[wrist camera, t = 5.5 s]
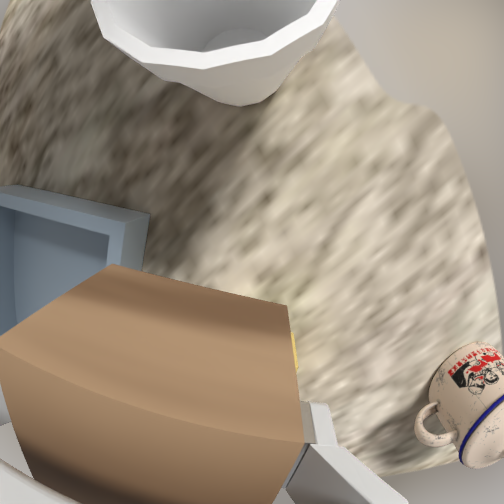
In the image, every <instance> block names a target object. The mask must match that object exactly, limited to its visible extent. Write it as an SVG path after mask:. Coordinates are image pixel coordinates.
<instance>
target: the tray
mask: <svg viewBox="0 0 504 504" xmlns="http://www.w3.org/2000/svg"><path fill="white" fill-rule="evenodd" d="M149 220H150V214H147V213H143V212H139V211H134V210H130V209H126V208H121V207H117V206H112V205H108V204H104V203H99V202H95V201H90V200H86V199H81V198H77V197H72V196H68V195H63V194H59V193H54V192H50V191H45V190H41V189H36V188H32V187H27V186H22V185H18V184H17V185H8V186H0V336H2V335H3V334H4V333H6V332H7V331H9V330H10V329H12V328H13V327H14V326H16V325H17V324H19V323H20V322H22V321H23V320H25V319H26V318H28V317H29V316H31V315H32V314H34V313H35V312H37V311H38V310H40V309H41V308H43V307H44V306H46V305H47V304H49V303H50V302H52V301H53V300H55V299H56V298H58V297H59V296H61V295H63V294H64V293H66V292H67V291H69V290H70V289H72V288H74V287H75V286H77V285H78V284H80V283H81V282H83V281H85V280H86V279H88V278H89V277H91V276H93V275H94V274H96V273H98V272H99V271H101V270H102V269H104V268H106V267H107V266H109V265H111V264H116V265H120V266H123V267H127V268H131V269H135V270H138V271H142V265H143V258H144V251H145V245H146V238H147V232H148V226H149Z"/></svg>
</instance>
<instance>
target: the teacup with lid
mask: <svg viewBox="0 0 504 504" xmlns="http://www.w3.org/2000/svg"><path fill="white" fill-rule="evenodd" d="M429 402H430V404H428V405H426V406H425V407H423V408H422V409H421V410H420V411H419V413H418V415H417V417H416V420H415V426H414V429H415V434H416V437H417V438H418V440H419V441H420V442H421V443H422V444H424V445H427V446H431V447H441V446H445V445H448V444H450V443H453V444H454V445H455V447H456V449H457V450H458V452H459V459H460V462H461V463H462V464H464V465H465V466H466V467H469V468H474V469H478V468H483V467H486V466H489V465H491V464H493V463H495V462H497V461H499V460H500V459H502V458H504V356H503V355H501V354H500V353H499V352H498V351H497V350H496V349H495V348H494V347H493V346H491V345H490V344H488V343H485V342H475V343H471V344H469V345H466V346H464V347H462V348H460V349H459V350H457V351H456V352H455V353H453V354H452V355H451V356H450V357H449V358H448V359H447V360H446V361H445V362H444V363H443V364H442V365H441V367H440V368H439V369H438V371H437V372H436V374H435V376H434V378H433V380H432V382H431V385H430V389H429ZM434 413H436V415H437V417H438V418H439V420H440V422H441V423H442V425H443V427H444V428H445V430H446V432H447V433H445V434H432V433H429V432H428V431H426V429H425V428H424V426H423V421H424V419H425V418H427V417H428V416H430V415H432V414H434Z"/></svg>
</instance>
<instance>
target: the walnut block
mask: <svg viewBox="0 0 504 504" xmlns="http://www.w3.org/2000/svg"><path fill="white" fill-rule="evenodd" d="M0 384H1V388H2V392H3V395H4V399H5V402H6V406H7V409H8V412H9V416H10V419H11V422H12V425H13V428H14V431H15V433H16V436H17V439H18V442H19V444H20V446H21V449H22V452H23V454H24V457H25V459H26V462H27V464H28V466H29V469H30V471H31V473H32V476H33V478H34V480H36V481H38V482H40V483H41V484H43V485H45V486H47V487H49V488H51V489H53V490H55V491H57V492H59V493H61V494H63V495H65V496H67V497H69V498H71V499H73V500H75V501H78V502H80V503H82V504H272V503H273V501H274V499H275V498H276V496H277V494H278V492H279V491H280V489H281V487H282V485H283V483H284V482H285V480H286V478H287V476H288V474H289V472H290V471H291V469H292V467H293V465H294V463H295V461H296V459H297V457H298V455H299V453H300V451H301V449H302V447H303V445H304V443H305V441H304V433H303V424H302V416H301V408H300V400H299V392H298V384H297V376H296V368H295V361H294V353H293V346H292V338H291V331H290V324H289V317H288V310H287V305H282V304H277V303H273V302H268V301H263V300H259V299H254V298H250V297H245V296H241V295H236V294H232V293H228V292H223V291H219V290H215V289H211V288H206V287H202V286H198V285H194V284H190V283H186V282H182V281H178V280H174V279H170V278H166V277H162V276H158V275H154V274H150V273H146V272H142V271H138V270H135V269H131V268H127V267H123V266H120V265H116V264H111V265H109V266H107V267H106V268H104V269H102V270H101V271H99V272H98V273H96V274H94V275H93V276H91V277H89V278H88V279H86V280H85V281H83V282H81V283H80V284H78V285H77V286H75V287H74V288H72V289H70V290H69V291H67V292H66V293H64V294H63V295H61V296H59V297H58V298H56V299H55V300H53V301H52V302H50V303H49V304H47V305H46V306H44V307H43V308H41V309H40V310H38V311H37V312H35V313H34V314H32V315H31V316H29V317H28V318H26V319H25V320H23V321H22V322H20V323H19V324H17V325H16V326H14V327H13V328H12V329H10V330H9V331H7V332H6V333H4V334H3V335H2V336H0Z"/></svg>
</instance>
